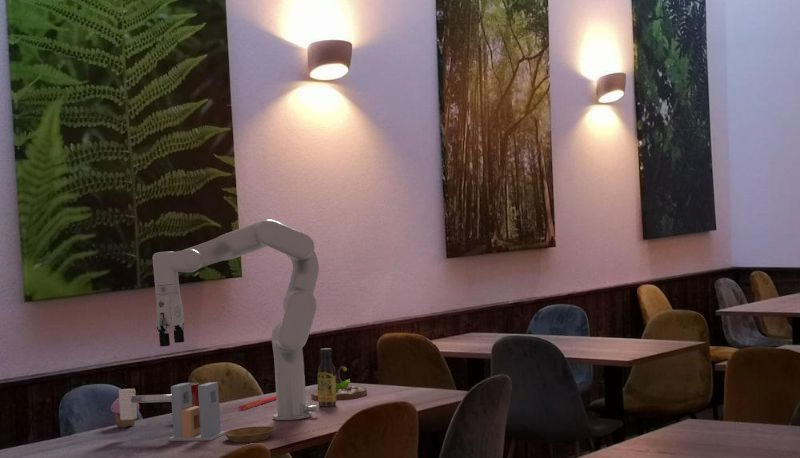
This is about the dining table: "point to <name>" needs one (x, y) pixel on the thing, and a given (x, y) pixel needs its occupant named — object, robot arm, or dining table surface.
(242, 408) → the red long bar
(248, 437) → the plant saucer
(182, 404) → the bearing stand
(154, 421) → the dining table surface
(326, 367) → the sauce bottle
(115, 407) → the cupcake
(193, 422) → the orange square holed block
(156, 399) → the shaft
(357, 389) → the plant
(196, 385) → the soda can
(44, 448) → the dining table surface
